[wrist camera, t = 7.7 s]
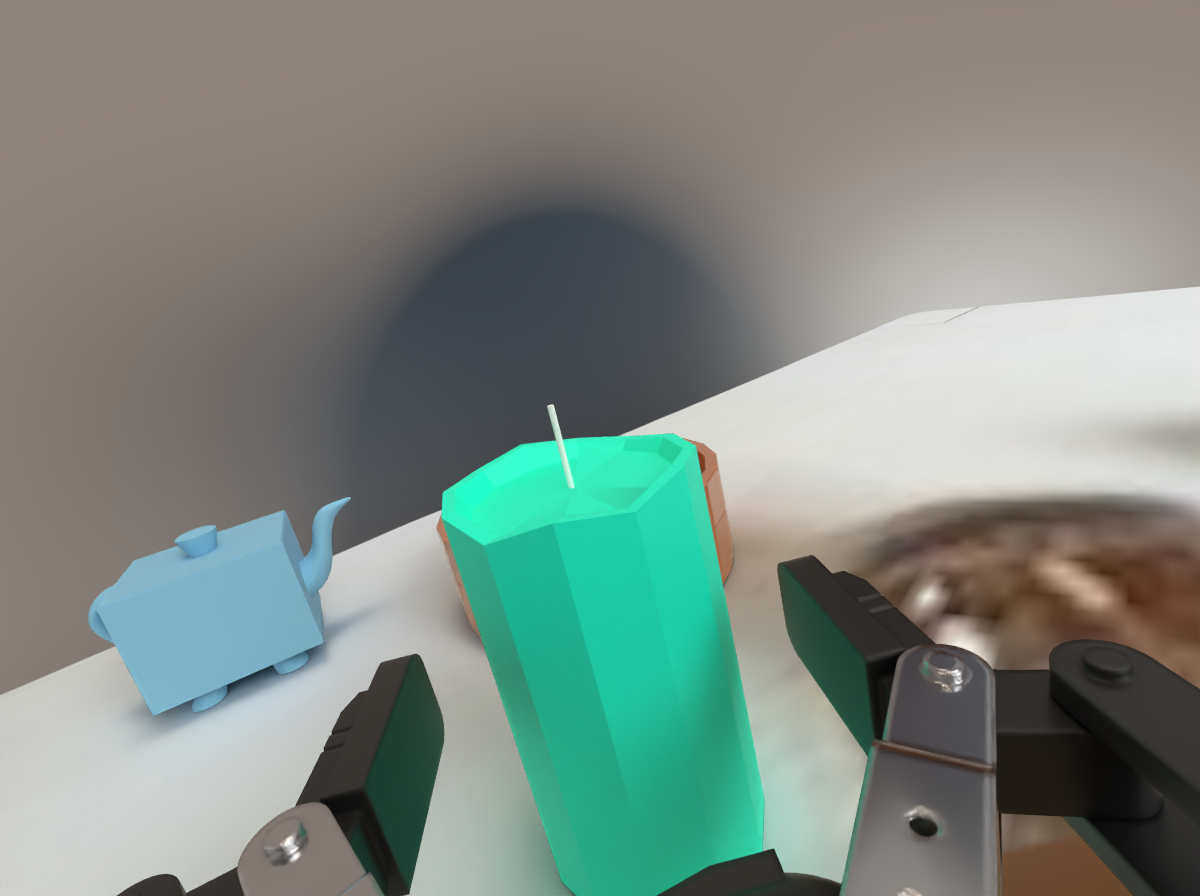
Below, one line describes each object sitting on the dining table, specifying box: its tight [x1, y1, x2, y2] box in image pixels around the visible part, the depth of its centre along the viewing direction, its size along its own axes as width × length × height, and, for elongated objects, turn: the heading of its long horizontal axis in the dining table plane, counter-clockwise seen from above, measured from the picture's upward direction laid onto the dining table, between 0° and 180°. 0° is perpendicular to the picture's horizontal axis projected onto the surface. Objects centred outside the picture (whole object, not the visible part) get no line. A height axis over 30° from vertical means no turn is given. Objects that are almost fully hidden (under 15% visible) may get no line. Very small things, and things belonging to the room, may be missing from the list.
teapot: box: [88, 497, 351, 716], centre depth 29 cm, size 12×6×8 cm, turn 118°
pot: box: [437, 438, 734, 638], centre depth 30 cm, size 14×14×5 cm
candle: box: [442, 405, 764, 896], centre depth 15 cm, size 6×6×12 cm
